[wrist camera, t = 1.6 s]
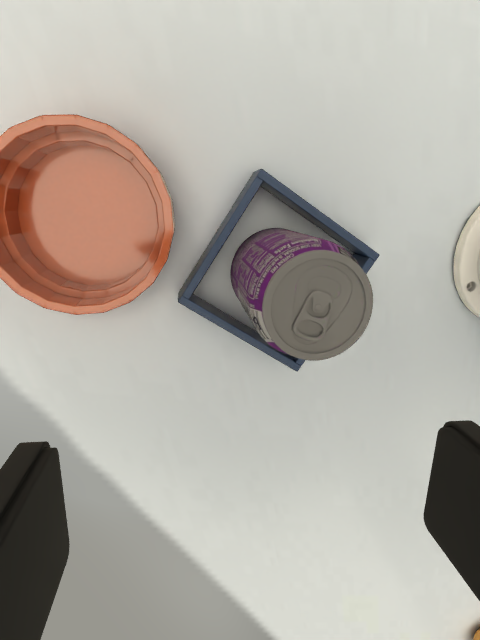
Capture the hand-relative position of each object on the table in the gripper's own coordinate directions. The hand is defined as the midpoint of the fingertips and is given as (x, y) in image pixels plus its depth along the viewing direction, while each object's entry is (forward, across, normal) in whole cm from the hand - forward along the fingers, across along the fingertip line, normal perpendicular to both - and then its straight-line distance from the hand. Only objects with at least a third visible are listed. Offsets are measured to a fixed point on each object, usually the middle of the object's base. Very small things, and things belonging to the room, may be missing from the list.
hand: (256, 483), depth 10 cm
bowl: (+24, +9, -5) cm, 26 cm away
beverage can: (+24, -5, -1) cm, 25 cm away
